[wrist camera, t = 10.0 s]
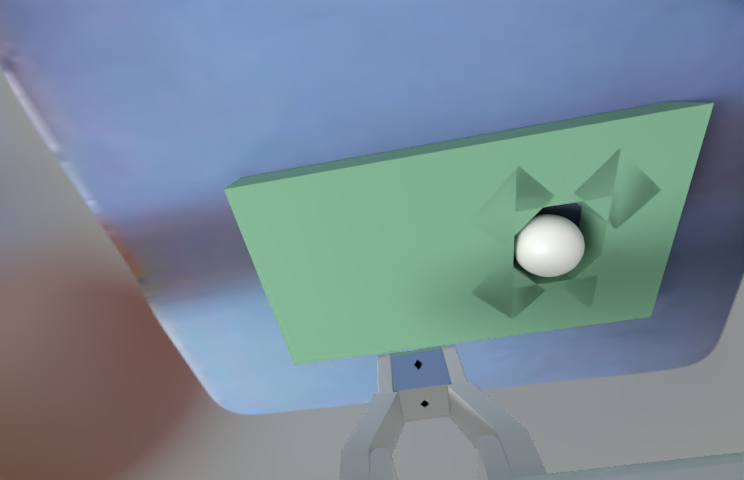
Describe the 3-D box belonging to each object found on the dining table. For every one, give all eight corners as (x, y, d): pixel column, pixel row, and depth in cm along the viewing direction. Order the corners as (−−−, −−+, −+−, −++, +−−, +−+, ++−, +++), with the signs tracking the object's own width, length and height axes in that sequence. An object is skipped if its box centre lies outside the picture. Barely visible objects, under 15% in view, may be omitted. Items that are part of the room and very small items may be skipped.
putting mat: (240, 177, 19) (224, 189, 17) (670, 101, 18) (714, 102, 15) (300, 340, 26) (294, 364, 23) (624, 295, 24) (650, 316, 22)
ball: (498, 218, 20) (554, 240, 16) (543, 199, 21) (605, 215, 18) (498, 269, 22) (549, 298, 18) (540, 249, 23) (595, 273, 19)
